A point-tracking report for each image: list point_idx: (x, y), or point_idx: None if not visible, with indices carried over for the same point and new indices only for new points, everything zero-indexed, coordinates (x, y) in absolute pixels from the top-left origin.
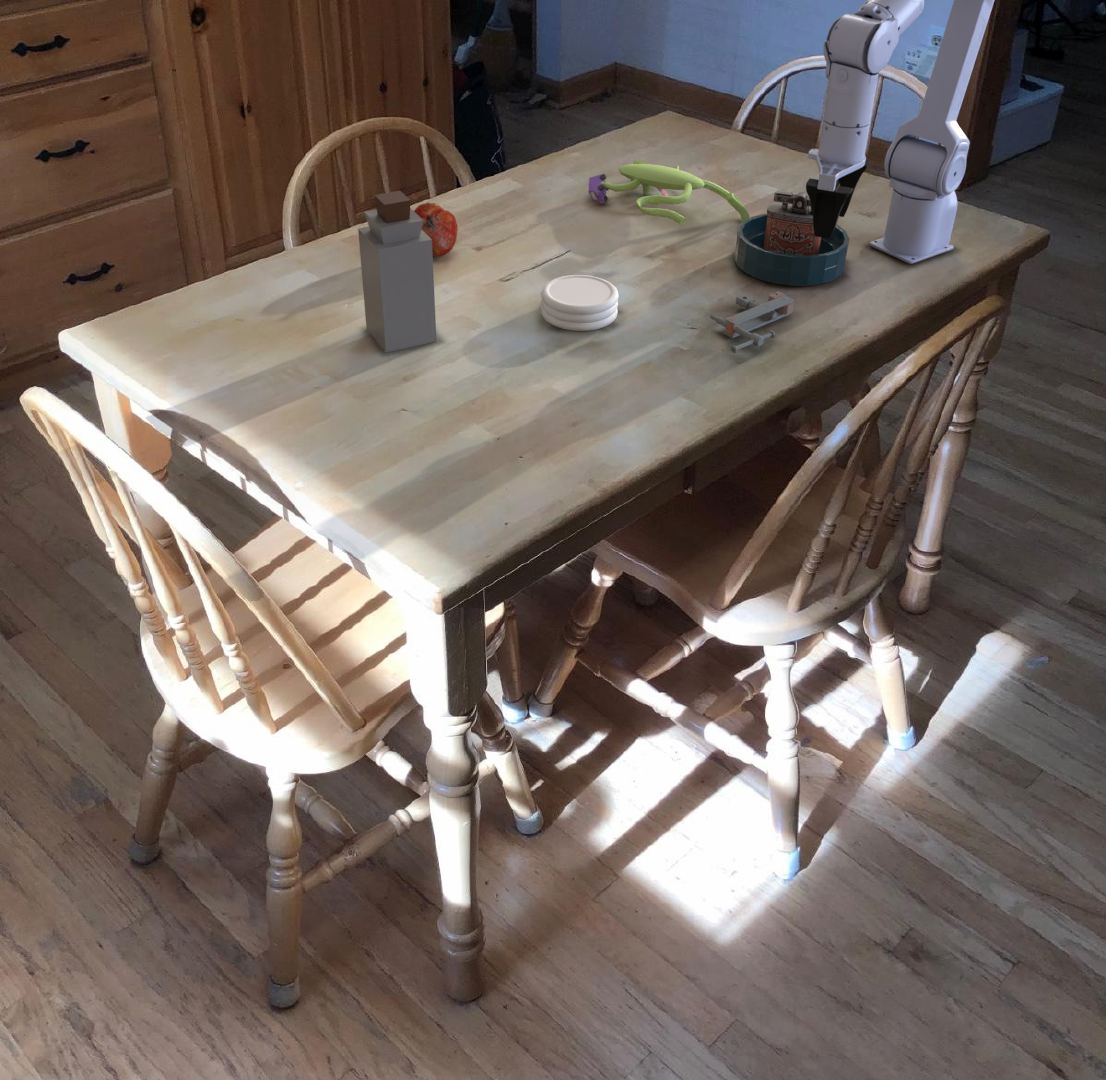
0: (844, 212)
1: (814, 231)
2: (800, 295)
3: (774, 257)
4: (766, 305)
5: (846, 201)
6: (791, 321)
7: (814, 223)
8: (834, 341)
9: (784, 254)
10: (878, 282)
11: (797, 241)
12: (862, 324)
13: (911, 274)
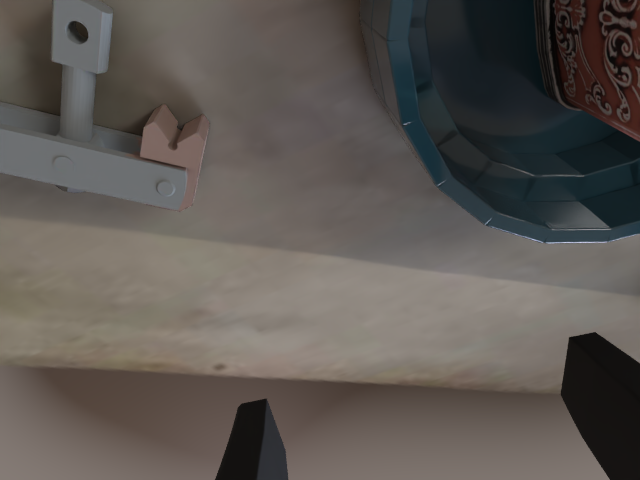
0: (574, 417)
1: (233, 426)
2: (339, 146)
3: (383, 36)
4: (55, 161)
5: (617, 473)
6: (148, 205)
7: (219, 474)
8: (135, 333)
9: (405, 83)
10: (538, 277)
11: (607, 49)
12: (273, 341)
13: (618, 314)
